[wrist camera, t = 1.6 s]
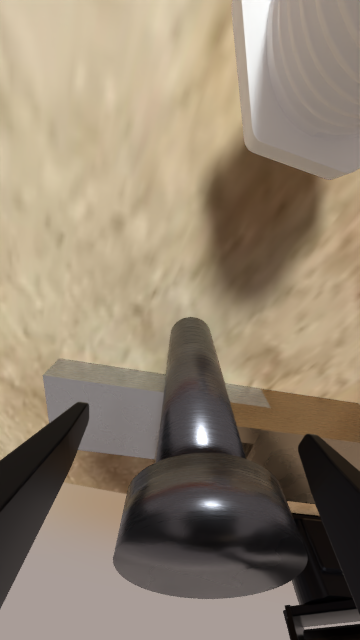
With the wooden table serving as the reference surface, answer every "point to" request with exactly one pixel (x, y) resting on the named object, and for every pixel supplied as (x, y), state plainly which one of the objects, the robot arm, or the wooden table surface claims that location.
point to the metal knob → (204, 493)
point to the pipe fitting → (300, 82)
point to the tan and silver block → (247, 405)
